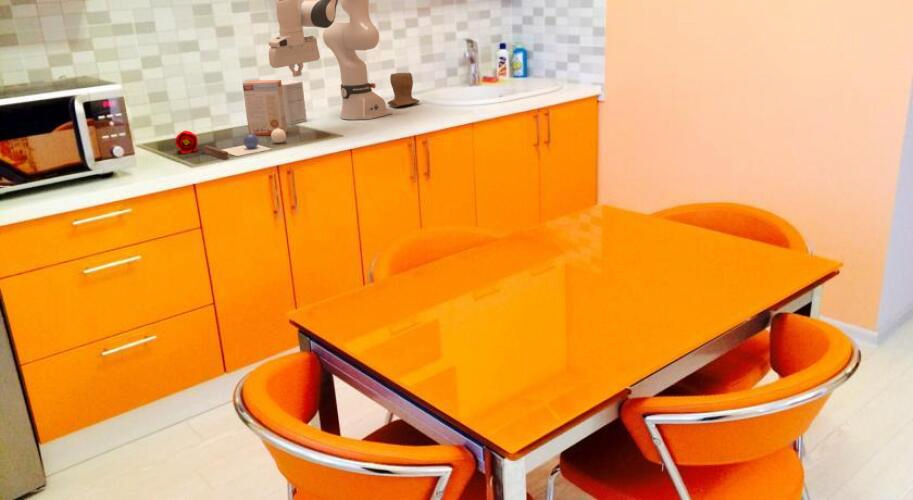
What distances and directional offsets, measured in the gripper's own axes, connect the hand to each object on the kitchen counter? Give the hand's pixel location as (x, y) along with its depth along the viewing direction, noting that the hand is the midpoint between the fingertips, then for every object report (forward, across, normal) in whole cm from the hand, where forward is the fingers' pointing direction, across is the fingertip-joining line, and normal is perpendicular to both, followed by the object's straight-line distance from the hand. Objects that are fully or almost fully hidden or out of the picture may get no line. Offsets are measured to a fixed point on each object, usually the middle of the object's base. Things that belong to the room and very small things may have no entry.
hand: (297, 76), depth 311 cm
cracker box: (+23, +9, -14) cm, 28 cm away
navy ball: (+19, +26, +5) cm, 33 cm away
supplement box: (+24, -10, -28) cm, 38 cm away
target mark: (+22, +29, +5) cm, 36 cm away
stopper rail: (+21, +40, +5) cm, 46 cm away
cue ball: (+19, +14, +5) cm, 25 cm away
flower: (+21, +44, -11) cm, 50 cm away
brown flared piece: (+26, -63, -19) cm, 71 cm away
